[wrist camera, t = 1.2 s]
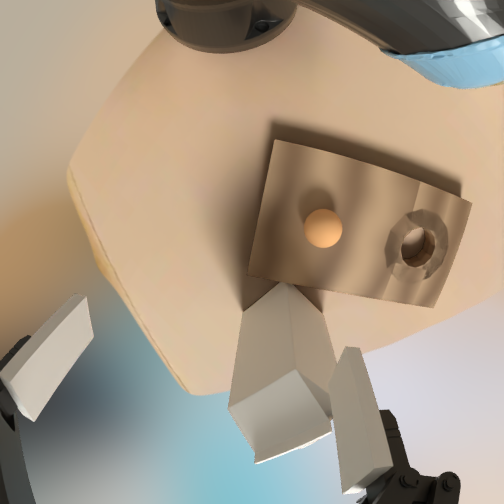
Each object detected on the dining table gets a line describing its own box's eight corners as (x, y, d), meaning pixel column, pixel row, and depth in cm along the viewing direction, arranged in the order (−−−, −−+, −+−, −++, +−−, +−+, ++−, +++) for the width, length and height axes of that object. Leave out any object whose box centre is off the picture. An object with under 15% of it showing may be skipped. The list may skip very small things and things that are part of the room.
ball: (306, 201, 27) (312, 209, 24) (341, 209, 27) (351, 219, 24) (298, 236, 28) (301, 249, 25) (332, 243, 28) (340, 257, 25)
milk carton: (241, 312, 35) (220, 447, 17) (285, 276, 33) (299, 412, 15) (280, 345, 36) (284, 475, 18) (323, 313, 34) (357, 445, 16)
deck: (248, 265, 32) (246, 275, 30) (274, 139, 27) (274, 139, 25) (425, 298, 33) (433, 308, 30) (460, 198, 28) (472, 203, 25)
